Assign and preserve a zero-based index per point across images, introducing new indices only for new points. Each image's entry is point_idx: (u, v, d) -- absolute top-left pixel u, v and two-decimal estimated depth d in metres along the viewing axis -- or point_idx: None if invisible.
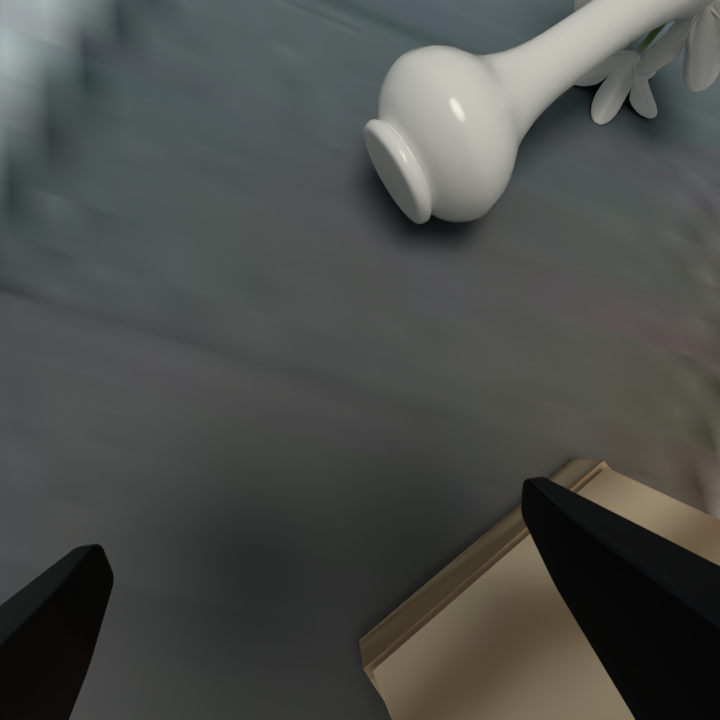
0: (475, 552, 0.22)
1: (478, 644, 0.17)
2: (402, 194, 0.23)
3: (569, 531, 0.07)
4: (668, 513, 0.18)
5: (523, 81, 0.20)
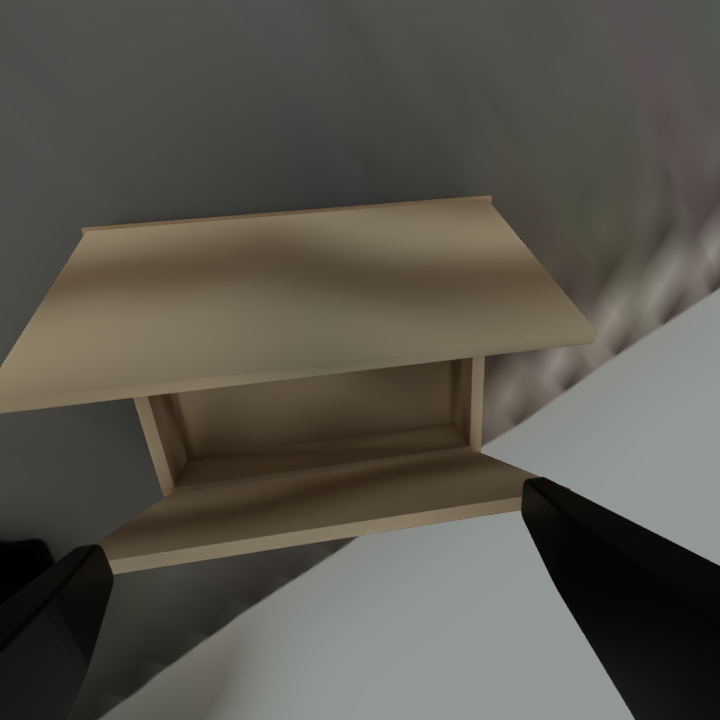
0: None
1: (208, 254, 0.14)
2: None
3: (569, 531, 0.07)
4: (504, 249, 0.14)
5: None
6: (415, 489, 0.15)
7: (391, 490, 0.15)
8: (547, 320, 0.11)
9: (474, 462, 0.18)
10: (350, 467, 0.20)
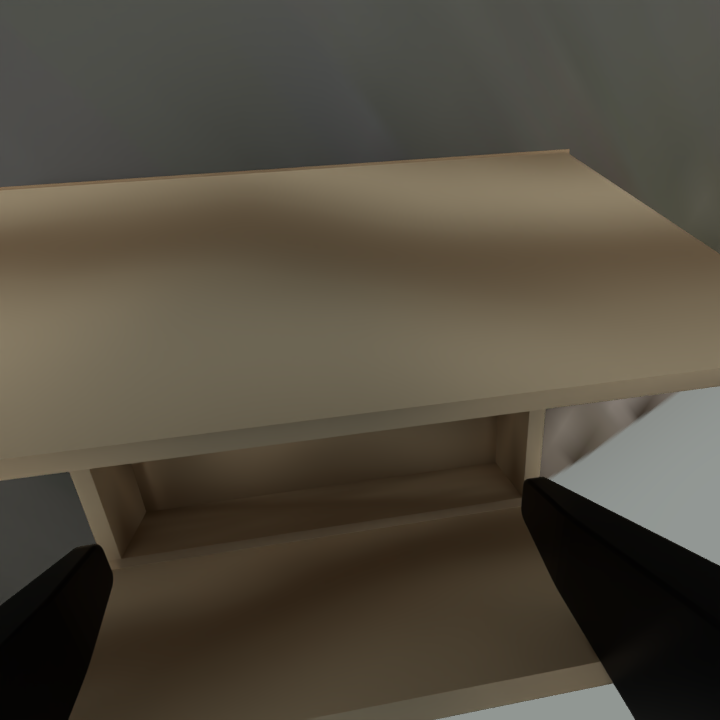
0: None
1: (143, 222, 0.08)
2: None
3: (569, 531, 0.07)
4: (619, 213, 0.08)
5: None
6: (472, 598, 0.10)
7: (433, 597, 0.10)
8: None
9: None
10: (362, 527, 0.15)
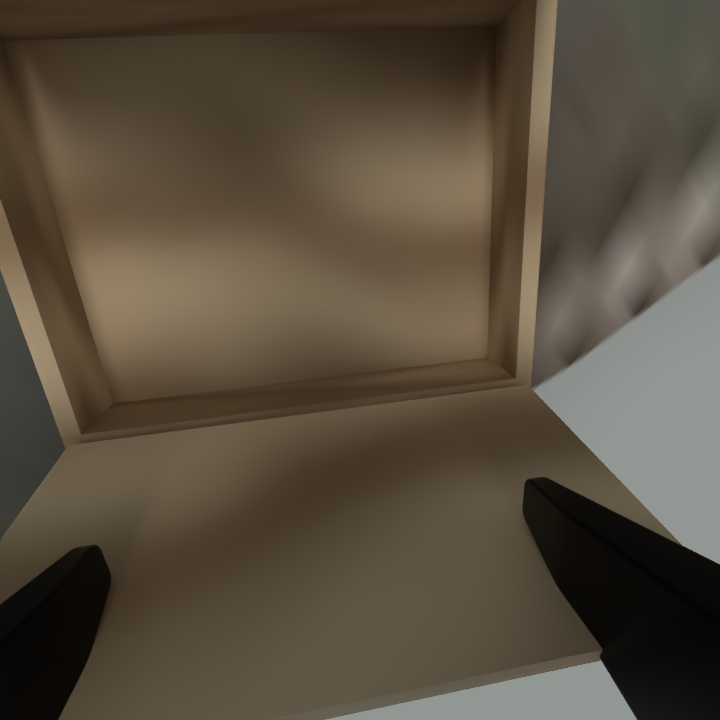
0: None
1: None
2: None
3: (571, 531, 0.07)
4: None
5: None
6: (465, 536, 0.09)
7: (424, 530, 0.09)
8: None
9: (537, 434, 0.12)
10: (345, 407, 0.14)
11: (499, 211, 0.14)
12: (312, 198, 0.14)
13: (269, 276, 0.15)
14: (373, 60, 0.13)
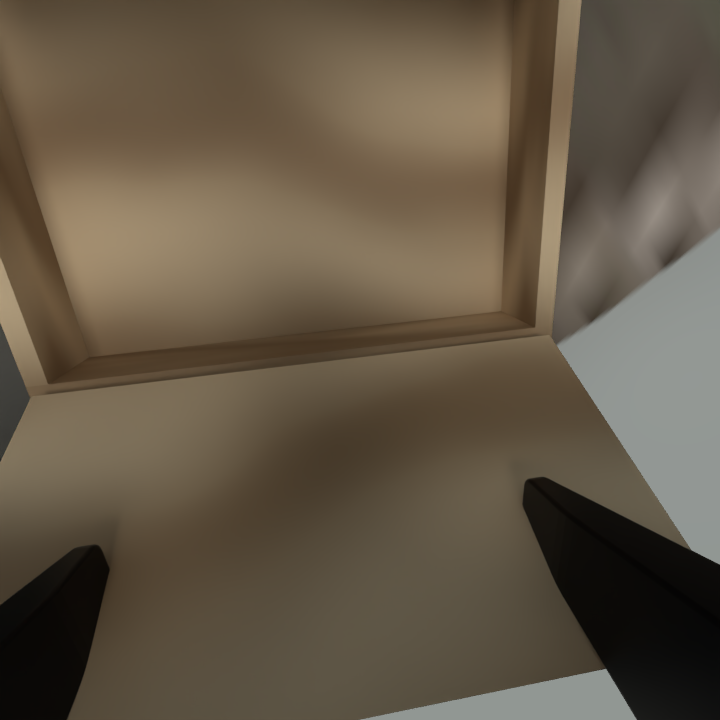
0: None
1: None
2: None
3: (571, 531, 0.07)
4: None
5: None
6: (472, 533, 0.09)
7: (429, 524, 0.09)
8: None
9: (556, 404, 0.11)
10: (343, 358, 0.13)
11: (518, 137, 0.13)
12: (306, 122, 0.12)
13: (259, 213, 0.13)
14: None
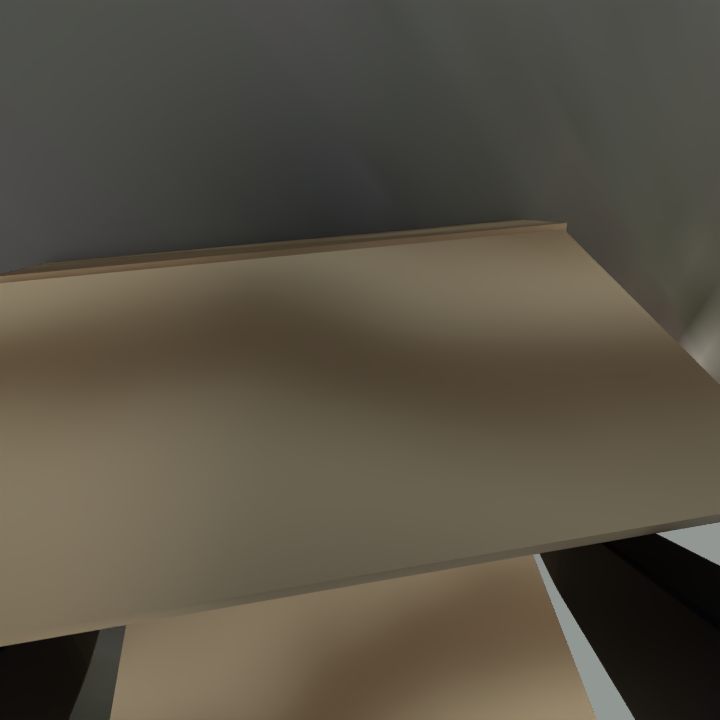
0: (285, 244, 0.13)
1: (159, 325, 0.09)
2: None
3: None
4: (612, 315, 0.09)
5: None
6: None
7: None
8: None
9: (532, 631, 0.14)
10: None
11: None
12: None
13: None
14: None
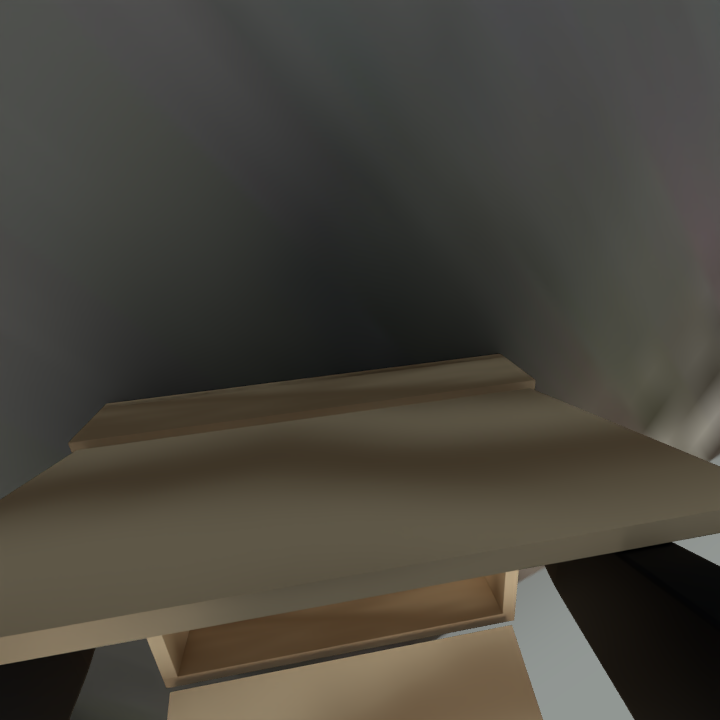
0: (305, 390, 0.15)
1: (204, 457, 0.11)
2: None
3: None
4: (575, 422, 0.11)
5: None
6: None
7: None
8: (695, 488, 0.07)
9: (511, 701, 0.17)
10: (372, 643, 0.19)
11: None
12: None
13: None
14: None
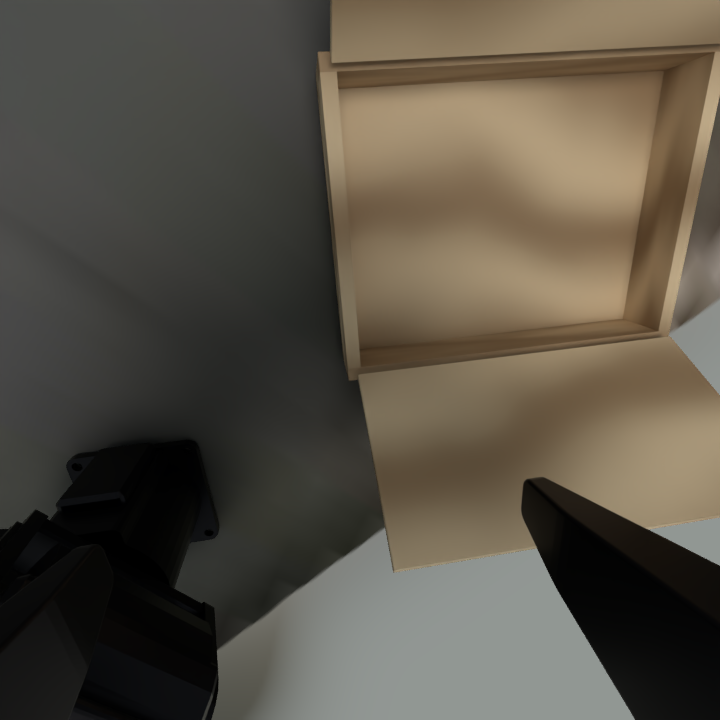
0: None
1: None
2: None
3: (569, 531, 0.07)
4: None
5: None
6: (652, 451, 0.16)
7: (627, 446, 0.16)
8: None
9: (684, 381, 0.18)
10: (537, 351, 0.19)
11: (652, 207, 0.19)
12: (517, 197, 0.19)
13: (477, 255, 0.20)
14: (574, 97, 0.18)
